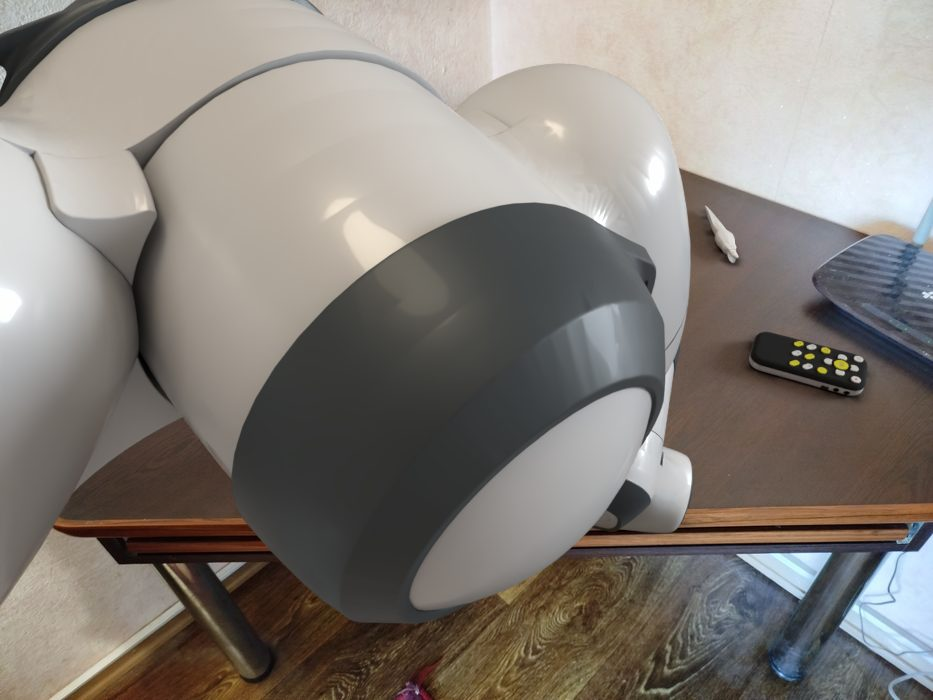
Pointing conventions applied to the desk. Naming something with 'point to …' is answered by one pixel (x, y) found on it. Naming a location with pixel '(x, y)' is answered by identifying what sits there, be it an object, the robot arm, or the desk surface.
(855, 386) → the remote control
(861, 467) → the desk surface
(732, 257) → the white dinosaur figurine
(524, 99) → the robot arm
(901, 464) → the desk surface
